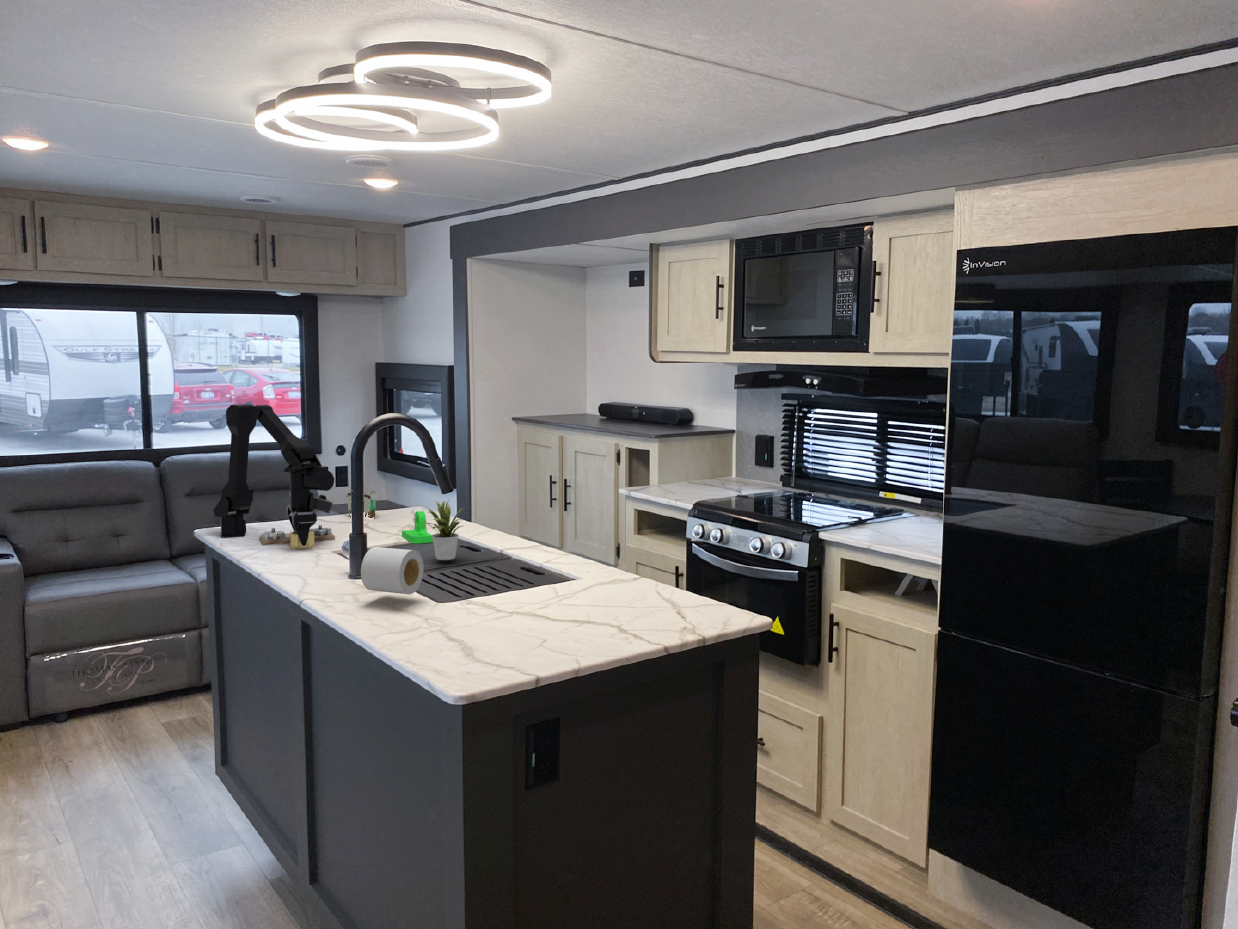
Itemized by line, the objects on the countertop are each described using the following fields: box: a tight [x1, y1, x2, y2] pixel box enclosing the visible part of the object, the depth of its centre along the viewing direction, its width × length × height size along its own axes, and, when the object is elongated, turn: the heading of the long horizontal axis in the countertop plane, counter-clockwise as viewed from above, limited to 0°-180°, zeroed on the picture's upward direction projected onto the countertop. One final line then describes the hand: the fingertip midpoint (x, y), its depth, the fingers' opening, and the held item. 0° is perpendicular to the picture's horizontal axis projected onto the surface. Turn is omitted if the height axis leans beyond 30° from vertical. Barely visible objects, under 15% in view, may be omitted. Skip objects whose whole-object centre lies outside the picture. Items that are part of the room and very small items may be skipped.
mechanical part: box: [401, 510, 433, 544], centre depth 273 cm, size 12×6×8 cm, turn 28°
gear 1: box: [261, 527, 286, 539], centre depth 267 cm, size 6×6×3 cm
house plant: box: [417, 499, 465, 561], centre depth 246 cm, size 14×14×16 cm
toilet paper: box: [360, 546, 425, 595], centre depth 208 cm, size 10×10×10 cm
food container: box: [345, 489, 379, 518], centre depth 303 cm, size 12×6×10 cm, turn 58°
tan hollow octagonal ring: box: [288, 530, 315, 550], centre depth 260 cm, size 6×6×4 cm
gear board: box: [259, 532, 336, 546], centre depth 269 cm, size 20×10×5 cm, turn 116°
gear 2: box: [309, 524, 332, 536], centre depth 272 cm, size 6×6×3 cm
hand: (302, 542), depth 260 cm, fingers open, 9 cm apart
